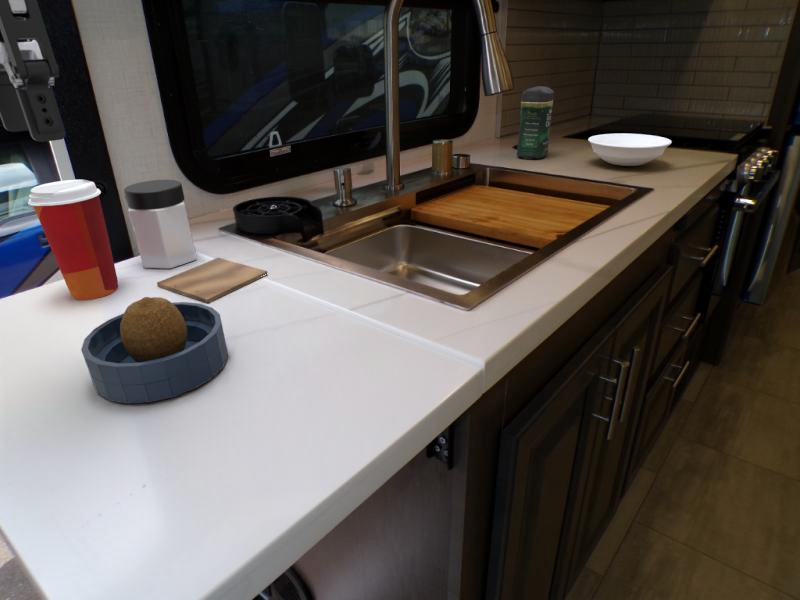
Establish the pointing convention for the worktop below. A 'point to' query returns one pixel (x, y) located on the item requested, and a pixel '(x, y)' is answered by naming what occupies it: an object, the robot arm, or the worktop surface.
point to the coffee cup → (77, 236)
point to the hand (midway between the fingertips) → (35, 135)
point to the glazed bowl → (162, 376)
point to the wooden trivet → (212, 279)
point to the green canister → (535, 122)
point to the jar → (160, 223)
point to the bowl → (628, 148)
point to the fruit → (153, 329)
